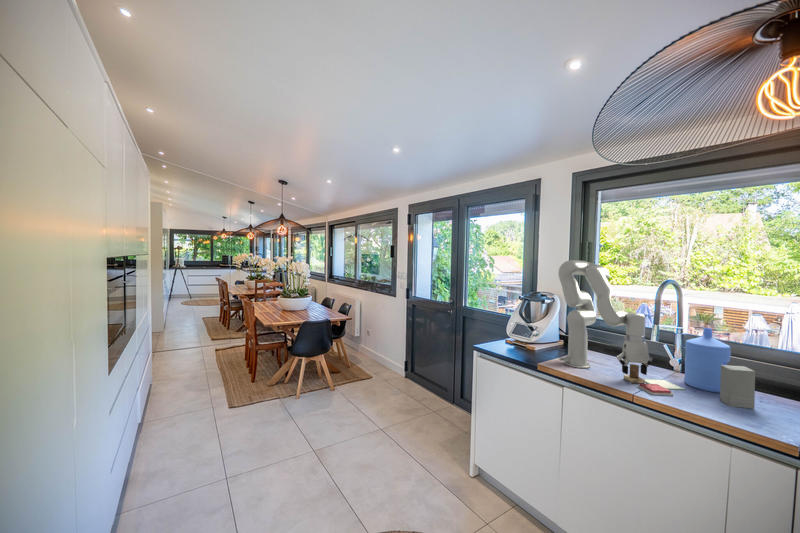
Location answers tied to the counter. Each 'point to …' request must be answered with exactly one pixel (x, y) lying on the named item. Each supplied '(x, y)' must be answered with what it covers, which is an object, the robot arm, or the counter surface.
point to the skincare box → (737, 386)
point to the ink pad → (655, 389)
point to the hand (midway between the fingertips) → (634, 373)
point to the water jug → (705, 361)
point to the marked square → (664, 384)
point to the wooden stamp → (634, 375)
